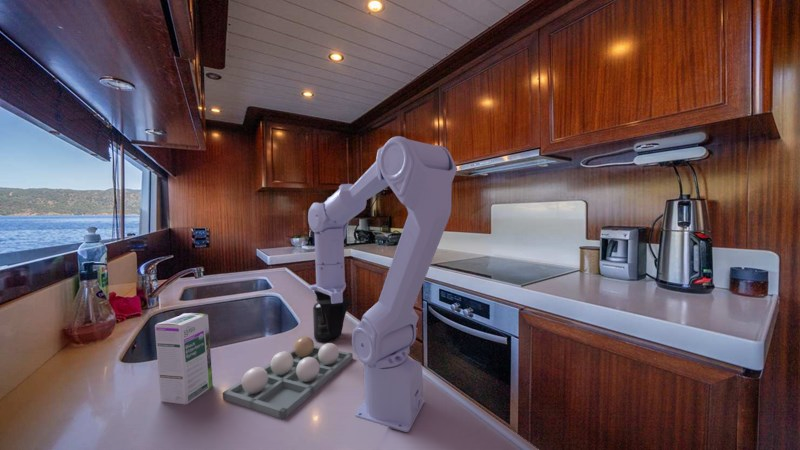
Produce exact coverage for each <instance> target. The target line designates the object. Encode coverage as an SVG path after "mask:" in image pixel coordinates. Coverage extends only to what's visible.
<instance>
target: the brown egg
mask: <svg viewBox="0 0 800 450" xmlns="http://www.w3.org/2000/svg"><path fill="white" fill-rule="evenodd" d="M293 344H294V345H293V349H294V352H295V354H296V355H297V356H299V357H307V356H309V355H310V354H311V353H312V351H313V349H314V346H315V343H314V341H313V339H312V338H311V337H310V336H301V337H299V338H298V339H297V340H296V341H295V342H294V343H293Z"/></svg>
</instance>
